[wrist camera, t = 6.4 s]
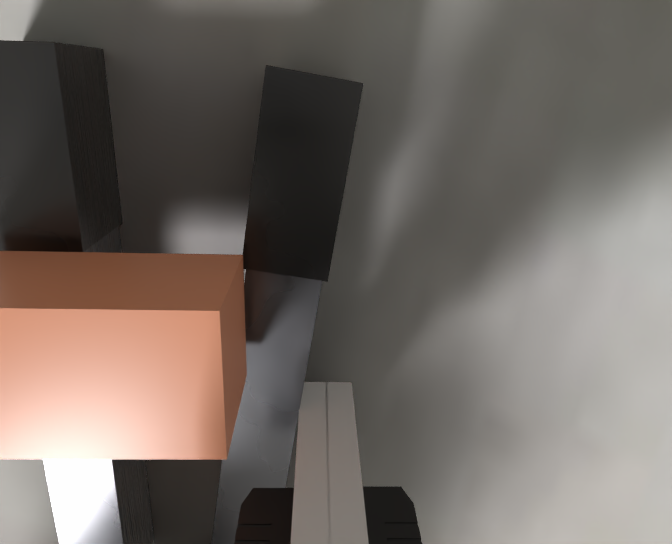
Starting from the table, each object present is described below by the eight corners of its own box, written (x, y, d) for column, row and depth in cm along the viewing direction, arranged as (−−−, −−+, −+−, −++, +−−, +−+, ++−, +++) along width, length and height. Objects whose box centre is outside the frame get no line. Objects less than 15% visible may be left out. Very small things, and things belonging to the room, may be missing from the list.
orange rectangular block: (-30, 250, 11) (-145, 306, 9) (242, 254, 12) (220, 310, 9) (-4, 373, 12) (-97, 459, 10) (246, 374, 13) (227, 459, 10)
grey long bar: (160, 46, 13) (112, 36, 10) (354, 82, 13) (365, 83, 10) (125, 633, 20) (90, 733, 17) (255, 644, 20) (244, 744, 17)
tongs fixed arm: (19, 46, 13) (-50, 38, 11) (102, 49, 13) (53, 41, 11) (98, 538, 18) (64, 609, 16) (157, 538, 18) (132, 609, 16)
